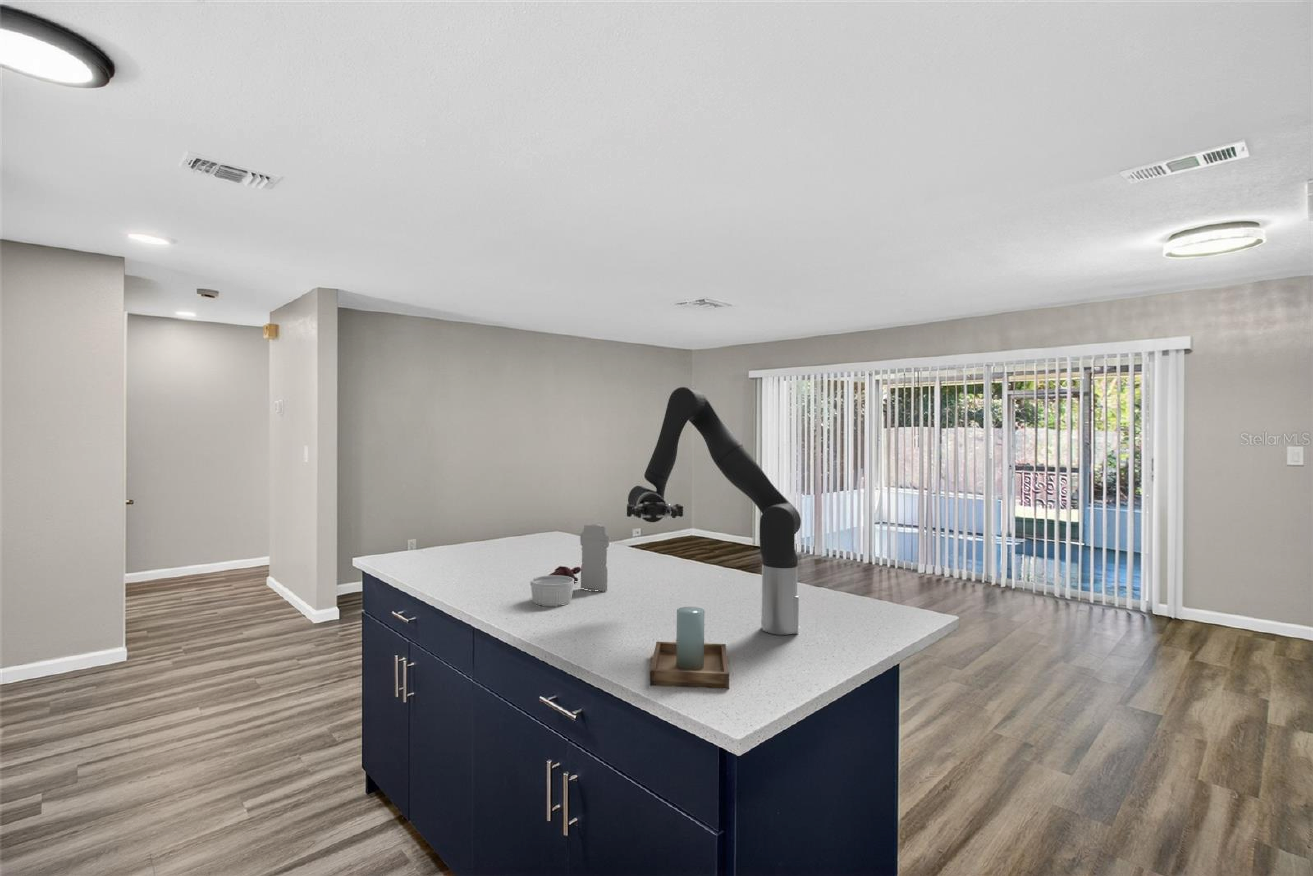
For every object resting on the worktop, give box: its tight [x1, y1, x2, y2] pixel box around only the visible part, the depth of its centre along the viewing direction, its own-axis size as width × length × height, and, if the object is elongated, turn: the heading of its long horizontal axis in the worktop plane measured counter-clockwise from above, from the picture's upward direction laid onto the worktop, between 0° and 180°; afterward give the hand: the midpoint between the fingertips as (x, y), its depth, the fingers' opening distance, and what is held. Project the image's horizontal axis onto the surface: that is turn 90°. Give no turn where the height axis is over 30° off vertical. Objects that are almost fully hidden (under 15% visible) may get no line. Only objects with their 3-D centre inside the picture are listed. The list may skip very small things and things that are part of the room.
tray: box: [649, 641, 730, 690], centre depth 132 cm, size 16×18×3 cm
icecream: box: [549, 565, 581, 582], centre depth 206 cm, size 7×7×15 cm
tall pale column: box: [579, 523, 610, 592], centre depth 201 cm, size 11×4×22 cm, turn 69°
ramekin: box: [529, 574, 575, 607], centre depth 186 cm, size 13×13×7 cm
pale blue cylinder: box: [675, 606, 706, 671], centre depth 132 cm, size 6×6×12 cm
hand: (657, 513), depth 147 cm, fingers open, 8 cm apart
